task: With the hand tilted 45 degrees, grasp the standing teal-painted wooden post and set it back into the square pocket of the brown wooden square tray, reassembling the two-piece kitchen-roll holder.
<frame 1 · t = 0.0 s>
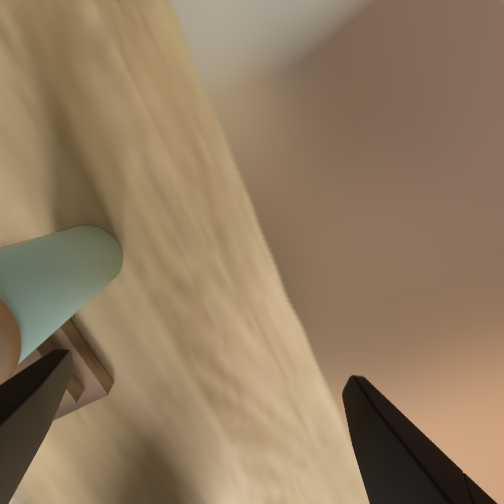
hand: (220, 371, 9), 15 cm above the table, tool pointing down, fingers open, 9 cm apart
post: (89, 256, 23), on the table
brown wooden square tray: (9, 359, 24), on the table
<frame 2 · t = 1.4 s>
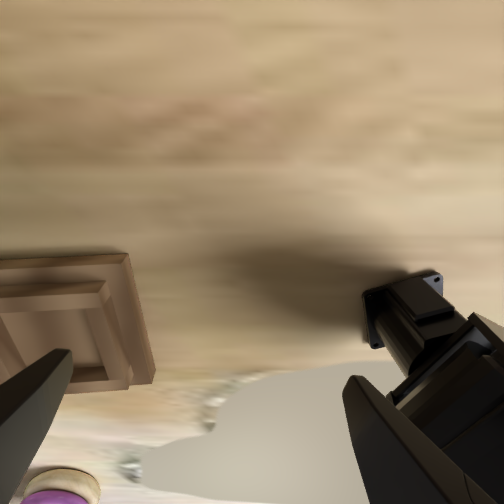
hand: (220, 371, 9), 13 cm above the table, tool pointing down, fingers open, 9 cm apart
brown wooden square tray: (68, 322, 24), on the table
stacking toy: (68, 482, 34), on the table
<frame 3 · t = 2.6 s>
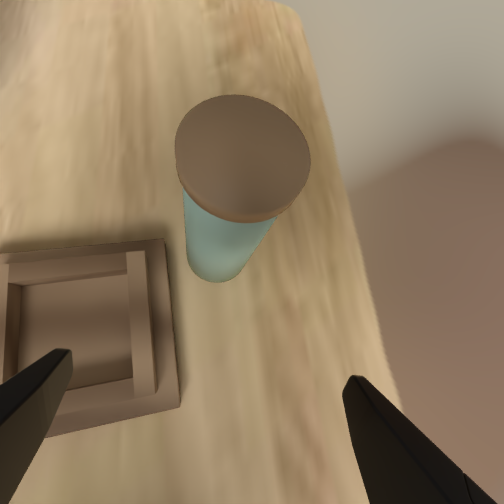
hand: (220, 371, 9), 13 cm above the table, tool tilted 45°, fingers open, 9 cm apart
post: (216, 253, 24), on the table
brown wooden square tray: (86, 331, 21), on the table
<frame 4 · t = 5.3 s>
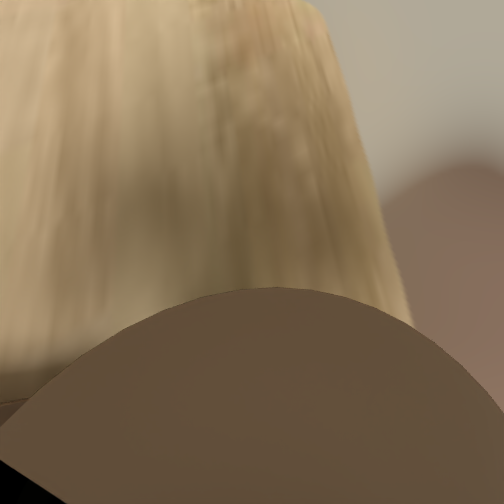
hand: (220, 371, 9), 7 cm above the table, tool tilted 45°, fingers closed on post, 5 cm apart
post: (204, 390, 15), on the table, touching gripper
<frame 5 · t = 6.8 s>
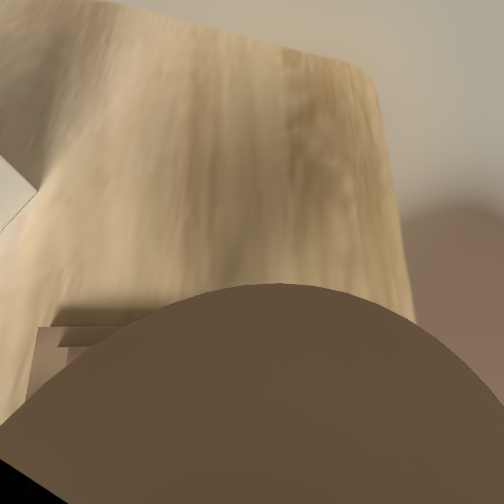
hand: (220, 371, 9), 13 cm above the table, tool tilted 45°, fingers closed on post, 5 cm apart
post: (204, 389, 15), point 7 cm above the table, touching gripper
brown wooden square tray: (132, 416, 20), on the table
when the fingers open (9 cm above the table, at t = 8.5 s): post drops 1 cm, resting on brown wooden square tray.
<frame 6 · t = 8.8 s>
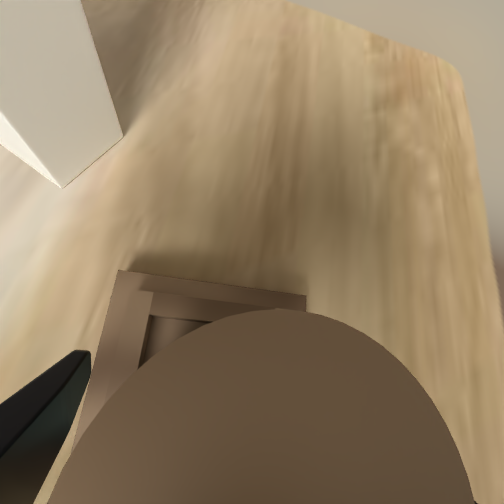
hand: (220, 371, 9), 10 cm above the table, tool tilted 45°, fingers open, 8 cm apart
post: (202, 387, 16), point 2 cm above the table, touching brown wooden square tray
brown wooden square tray: (201, 383, 18), on the table
milk: (63, 140, 21), on the table
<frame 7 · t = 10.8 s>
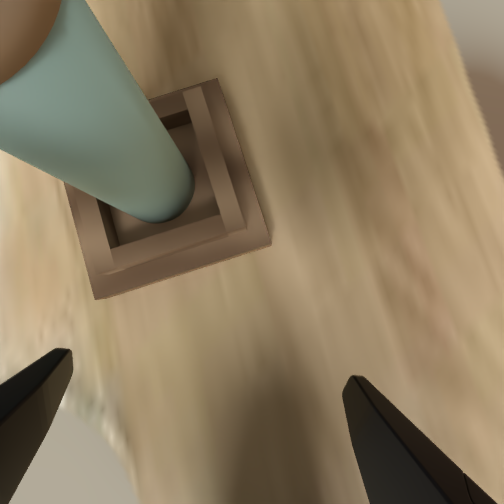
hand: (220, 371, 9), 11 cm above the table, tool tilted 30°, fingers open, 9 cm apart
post: (157, 186, 19), point 2 cm above the table, touching brown wooden square tray
brown wooden square tray: (165, 192, 21), on the table
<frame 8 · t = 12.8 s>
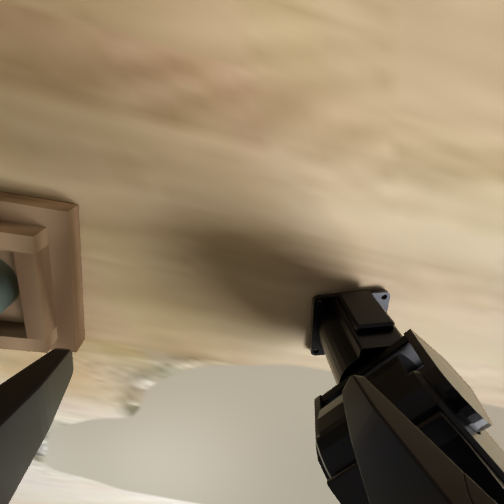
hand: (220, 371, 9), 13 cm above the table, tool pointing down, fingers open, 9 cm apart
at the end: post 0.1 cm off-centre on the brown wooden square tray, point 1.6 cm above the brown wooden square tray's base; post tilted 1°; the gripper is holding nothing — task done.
